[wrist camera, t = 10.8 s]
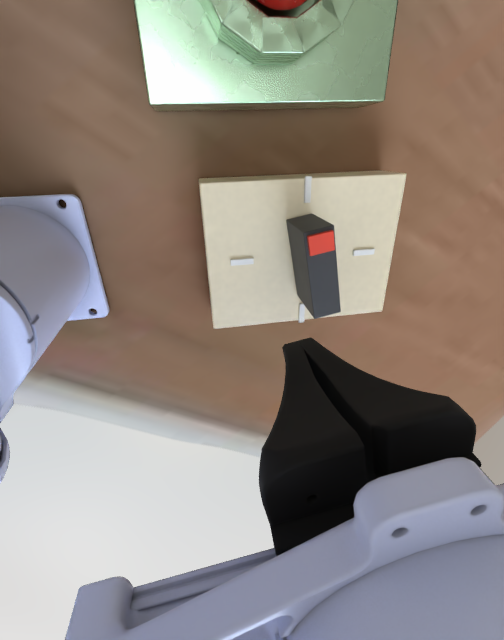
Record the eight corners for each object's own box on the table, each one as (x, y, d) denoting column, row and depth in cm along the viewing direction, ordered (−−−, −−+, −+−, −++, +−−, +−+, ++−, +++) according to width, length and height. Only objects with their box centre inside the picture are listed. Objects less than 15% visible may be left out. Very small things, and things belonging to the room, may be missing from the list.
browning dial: (320, 289, 21) (343, 314, 18) (297, 295, 21) (315, 321, 18) (312, 212, 19) (336, 225, 16) (285, 219, 19) (304, 233, 16)
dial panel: (211, 311, 24) (213, 331, 21) (198, 176, 20) (199, 181, 17) (362, 296, 26) (383, 313, 23) (381, 168, 21) (409, 171, 19)
